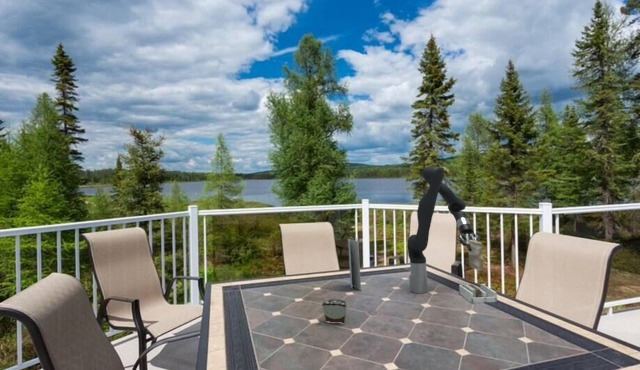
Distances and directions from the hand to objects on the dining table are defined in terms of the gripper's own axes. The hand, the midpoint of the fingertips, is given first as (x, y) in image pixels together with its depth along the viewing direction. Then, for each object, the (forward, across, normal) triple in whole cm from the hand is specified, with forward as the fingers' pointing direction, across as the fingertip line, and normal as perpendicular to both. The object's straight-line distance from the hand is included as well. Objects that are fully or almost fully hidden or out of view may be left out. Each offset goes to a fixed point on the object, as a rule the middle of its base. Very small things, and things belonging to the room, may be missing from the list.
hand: (473, 250), depth 212 cm
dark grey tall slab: (+3, -67, +32) cm, 74 cm away
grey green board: (+8, 0, +5) cm, 10 cm away
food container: (+42, -81, -8) cm, 92 cm away
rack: (+24, -3, +10) cm, 26 cm away
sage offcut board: (+24, -7, +10) cm, 27 cm away
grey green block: (+24, -5, +10) cm, 26 cm away
